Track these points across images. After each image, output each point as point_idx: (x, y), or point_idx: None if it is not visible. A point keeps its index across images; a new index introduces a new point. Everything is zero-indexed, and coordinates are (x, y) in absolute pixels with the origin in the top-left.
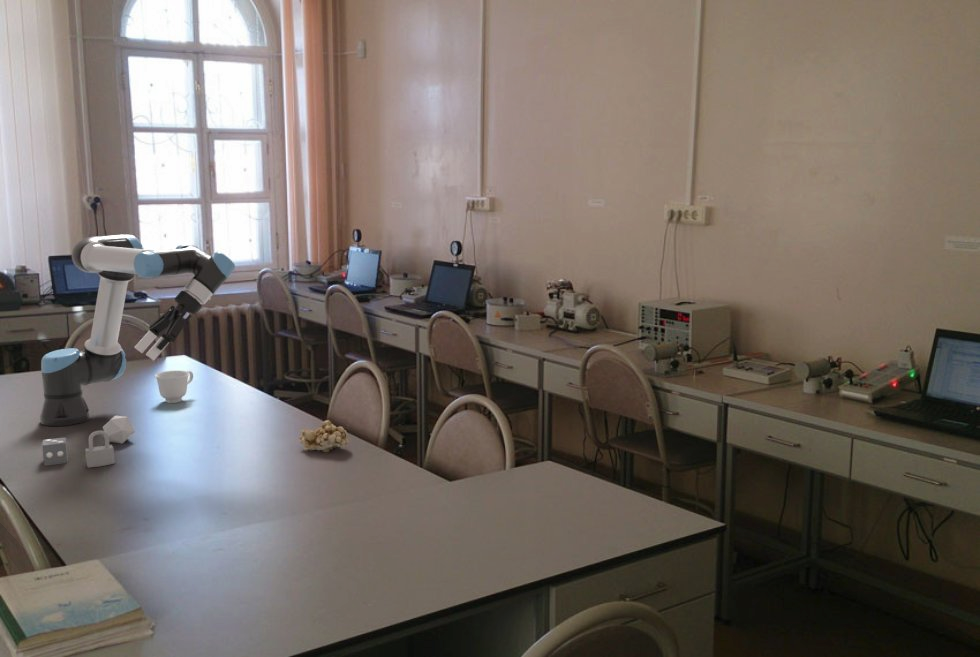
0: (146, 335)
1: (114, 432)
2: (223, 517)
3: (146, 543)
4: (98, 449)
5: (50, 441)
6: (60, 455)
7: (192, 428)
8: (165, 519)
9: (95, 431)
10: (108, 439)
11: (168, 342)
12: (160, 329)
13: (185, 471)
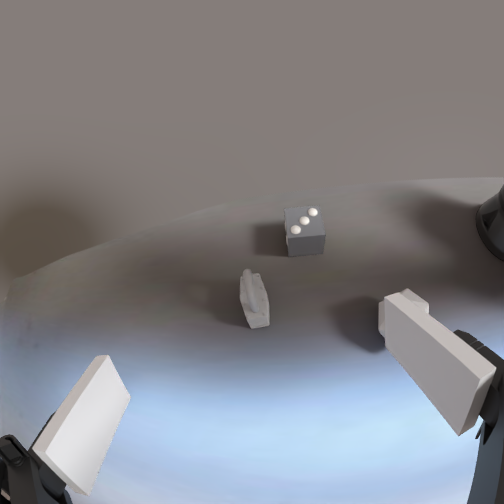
0: (448, 356)
1: (379, 314)
2: (15, 409)
3: (5, 335)
4: (244, 294)
5: (305, 216)
6: (286, 241)
7: (438, 447)
8: (28, 361)
9: (246, 276)
10: (250, 306)
11: (72, 488)
12: (478, 477)
13: (157, 433)
